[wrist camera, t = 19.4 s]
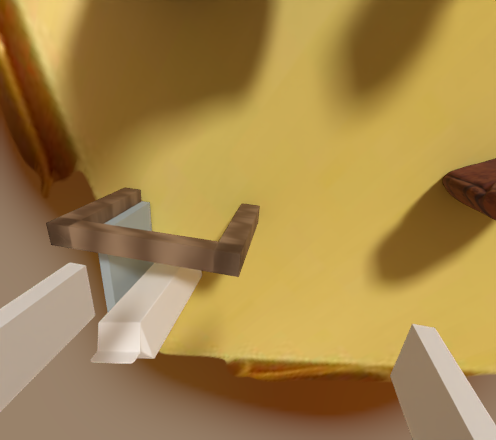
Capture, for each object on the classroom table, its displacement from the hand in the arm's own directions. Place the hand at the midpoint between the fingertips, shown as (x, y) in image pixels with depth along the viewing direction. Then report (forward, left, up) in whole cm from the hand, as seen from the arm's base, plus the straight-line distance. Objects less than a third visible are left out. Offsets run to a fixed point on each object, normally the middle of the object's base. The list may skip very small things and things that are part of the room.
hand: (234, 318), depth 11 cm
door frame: (-4, -16, -33) cm, 37 cm away
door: (-5, -29, -32) cm, 43 cm away
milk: (+3, -26, -33) cm, 42 cm away
